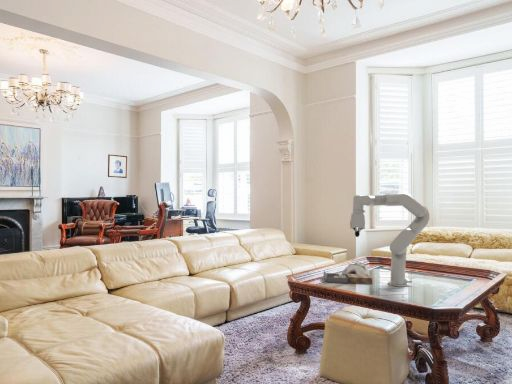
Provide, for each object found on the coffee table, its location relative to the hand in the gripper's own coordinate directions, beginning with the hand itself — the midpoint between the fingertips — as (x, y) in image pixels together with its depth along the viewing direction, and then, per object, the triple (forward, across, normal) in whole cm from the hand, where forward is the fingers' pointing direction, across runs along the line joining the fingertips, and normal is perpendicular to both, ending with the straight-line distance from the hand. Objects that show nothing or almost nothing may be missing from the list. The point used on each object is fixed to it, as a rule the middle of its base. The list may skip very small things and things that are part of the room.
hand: (357, 236), depth 281 cm
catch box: (+31, +16, +9) cm, 36 cm away
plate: (+31, 0, +9) cm, 32 cm away
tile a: (+27, +11, +9) cm, 31 cm away
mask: (+32, -6, -22) cm, 39 cm away
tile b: (+29, +15, +9) cm, 34 cm away
